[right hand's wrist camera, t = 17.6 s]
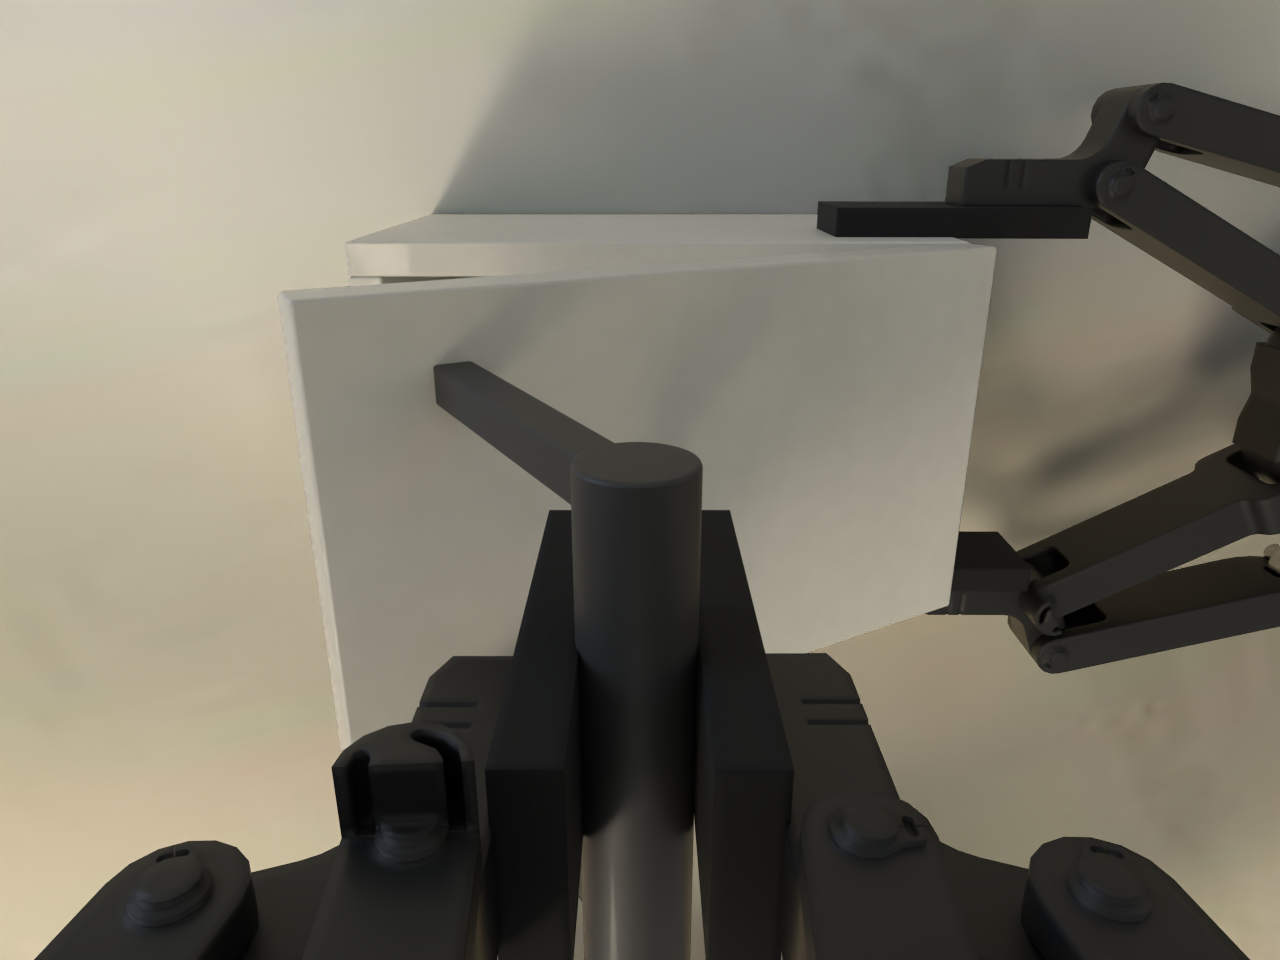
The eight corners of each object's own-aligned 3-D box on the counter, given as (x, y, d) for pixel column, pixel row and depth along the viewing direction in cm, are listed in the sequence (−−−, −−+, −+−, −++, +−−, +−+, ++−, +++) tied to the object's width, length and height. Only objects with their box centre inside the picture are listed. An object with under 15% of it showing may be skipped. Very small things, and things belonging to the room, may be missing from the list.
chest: (450, 471, 34) (382, 588, 25) (430, 214, 31) (344, 242, 22) (851, 470, 34) (927, 588, 25) (873, 213, 31) (971, 241, 22)
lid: (343, 772, 18) (492, 1147, 11) (275, 290, 14) (430, 412, 8) (919, 589, 25) (1217, 749, 18) (961, 242, 22) (1342, 284, 15)
